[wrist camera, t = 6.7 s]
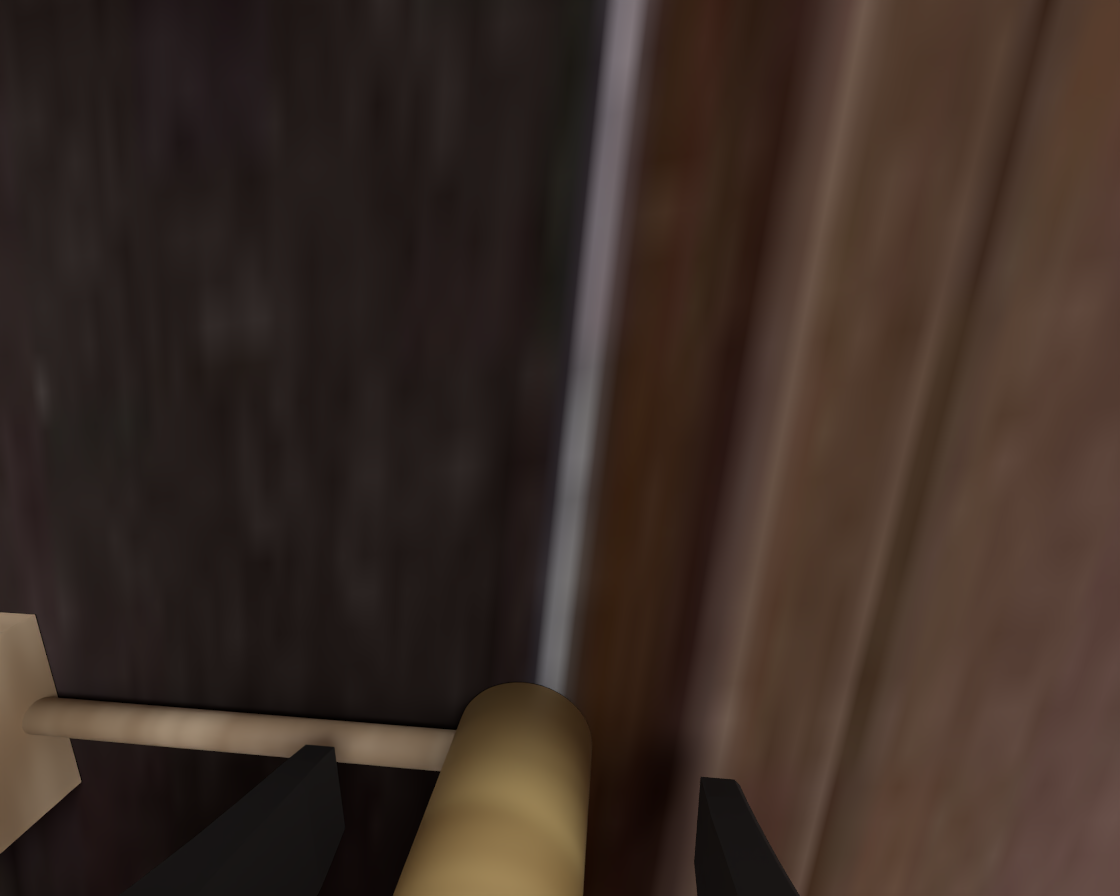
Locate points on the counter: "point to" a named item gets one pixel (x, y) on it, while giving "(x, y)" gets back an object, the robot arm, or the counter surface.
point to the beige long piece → (461, 755)
